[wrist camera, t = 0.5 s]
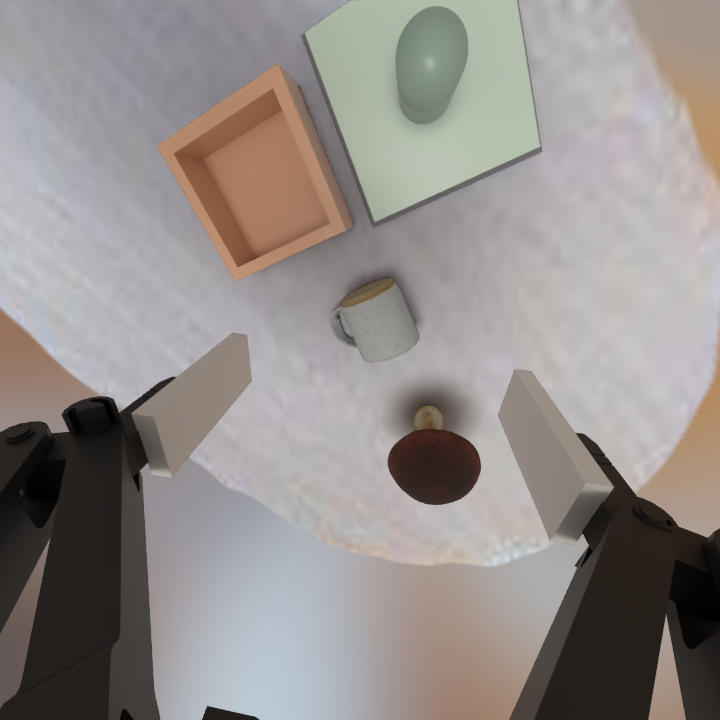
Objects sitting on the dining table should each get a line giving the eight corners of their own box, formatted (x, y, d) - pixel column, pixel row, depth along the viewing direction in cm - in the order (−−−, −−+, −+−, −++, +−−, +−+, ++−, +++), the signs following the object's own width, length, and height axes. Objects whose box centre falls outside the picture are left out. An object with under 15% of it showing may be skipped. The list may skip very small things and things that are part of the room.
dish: (194, 153, 35) (156, 145, 30) (299, 86, 31) (277, 63, 26) (257, 270, 41) (234, 281, 35) (354, 225, 37) (345, 230, 31)
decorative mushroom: (379, 420, 49) (368, 502, 36) (416, 368, 44) (420, 440, 31) (439, 450, 50) (450, 540, 37) (482, 402, 45) (512, 486, 32)
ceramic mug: (395, 268, 38) (391, 283, 31) (419, 326, 41) (421, 351, 34) (322, 301, 42) (304, 322, 35) (349, 353, 45) (337, 381, 38)
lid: (308, 38, 29) (270, -23, 21) (496, -91, 24) (540, -235, 16) (375, 221, 36) (366, 227, 28) (535, 148, 31) (581, 130, 23)
